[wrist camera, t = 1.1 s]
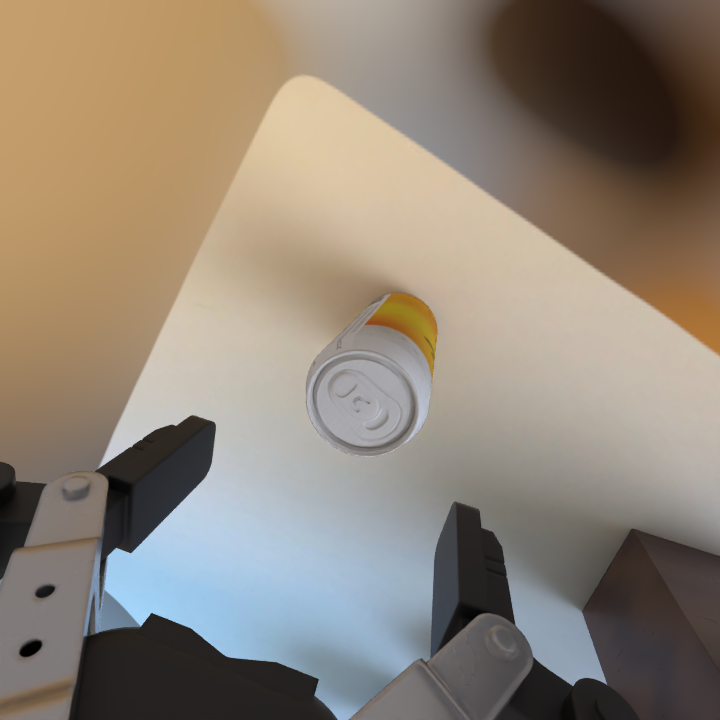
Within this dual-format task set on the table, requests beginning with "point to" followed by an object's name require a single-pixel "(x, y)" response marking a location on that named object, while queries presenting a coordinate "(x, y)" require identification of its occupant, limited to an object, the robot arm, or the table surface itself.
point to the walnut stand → (660, 628)
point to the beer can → (375, 378)
